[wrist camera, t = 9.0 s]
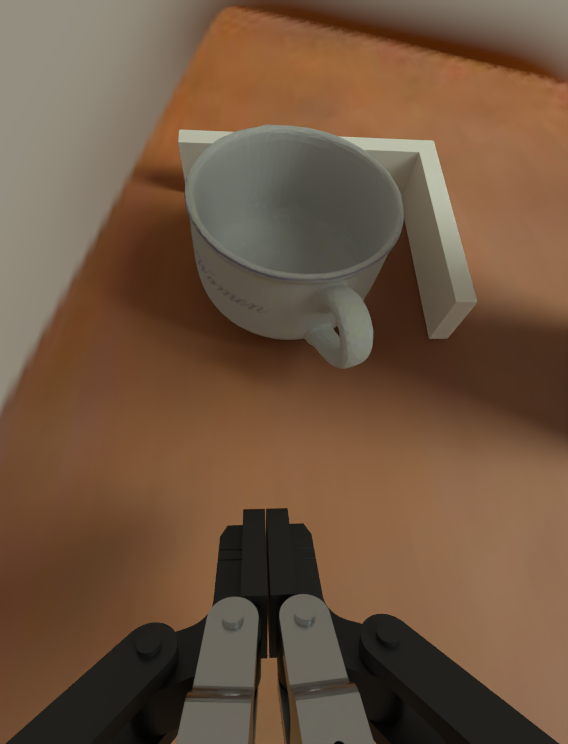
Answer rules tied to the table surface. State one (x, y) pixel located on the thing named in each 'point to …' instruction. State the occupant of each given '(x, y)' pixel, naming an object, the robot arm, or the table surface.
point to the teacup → (293, 234)
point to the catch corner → (406, 222)
